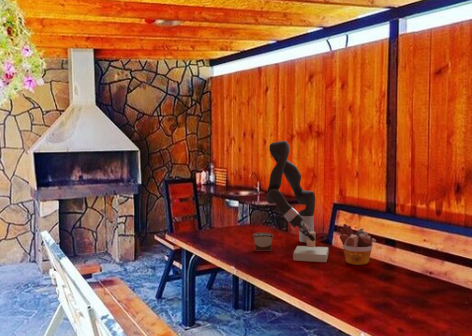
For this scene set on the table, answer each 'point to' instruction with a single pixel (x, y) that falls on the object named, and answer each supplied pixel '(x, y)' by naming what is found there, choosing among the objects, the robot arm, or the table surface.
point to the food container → (263, 241)
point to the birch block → (309, 241)
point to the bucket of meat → (356, 245)
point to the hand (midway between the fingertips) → (314, 239)
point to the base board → (310, 254)
